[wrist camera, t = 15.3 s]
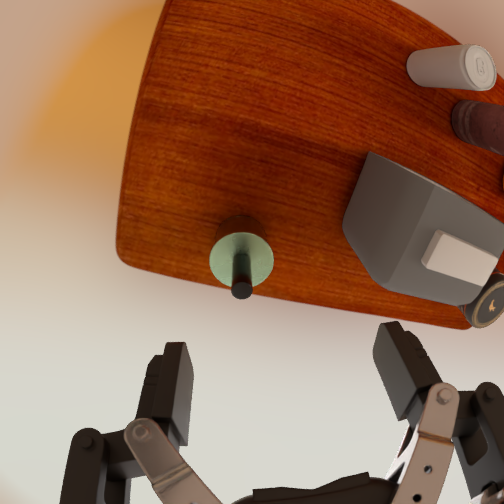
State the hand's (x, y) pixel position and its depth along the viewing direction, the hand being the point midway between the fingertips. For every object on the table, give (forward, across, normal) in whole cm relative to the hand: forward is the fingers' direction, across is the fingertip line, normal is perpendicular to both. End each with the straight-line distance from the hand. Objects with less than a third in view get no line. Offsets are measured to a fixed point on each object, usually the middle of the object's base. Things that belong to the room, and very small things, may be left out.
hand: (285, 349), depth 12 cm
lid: (+21, +2, +8) cm, 22 cm away
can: (+26, -30, -8) cm, 41 cm away
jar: (+26, -37, +19) cm, 49 cm away
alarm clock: (+26, -19, +5) cm, 33 cm away
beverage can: (+27, -22, -14) cm, 37 cm away
